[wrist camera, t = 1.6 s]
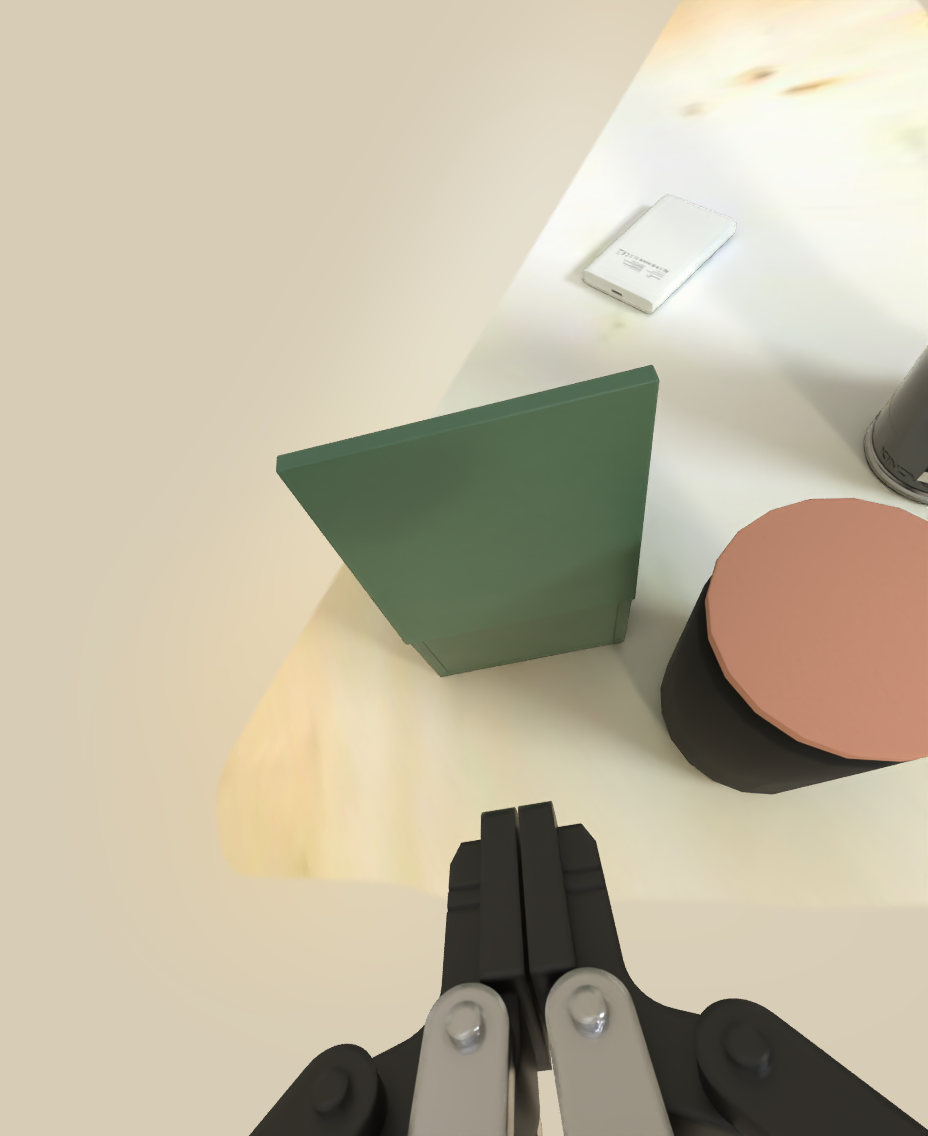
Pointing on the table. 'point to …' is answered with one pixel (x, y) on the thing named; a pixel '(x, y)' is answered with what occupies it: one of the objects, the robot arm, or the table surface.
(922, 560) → the coffee jar
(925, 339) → the table surface
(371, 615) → the table surface
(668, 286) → the hard drive
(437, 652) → the green box
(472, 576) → the green lid
